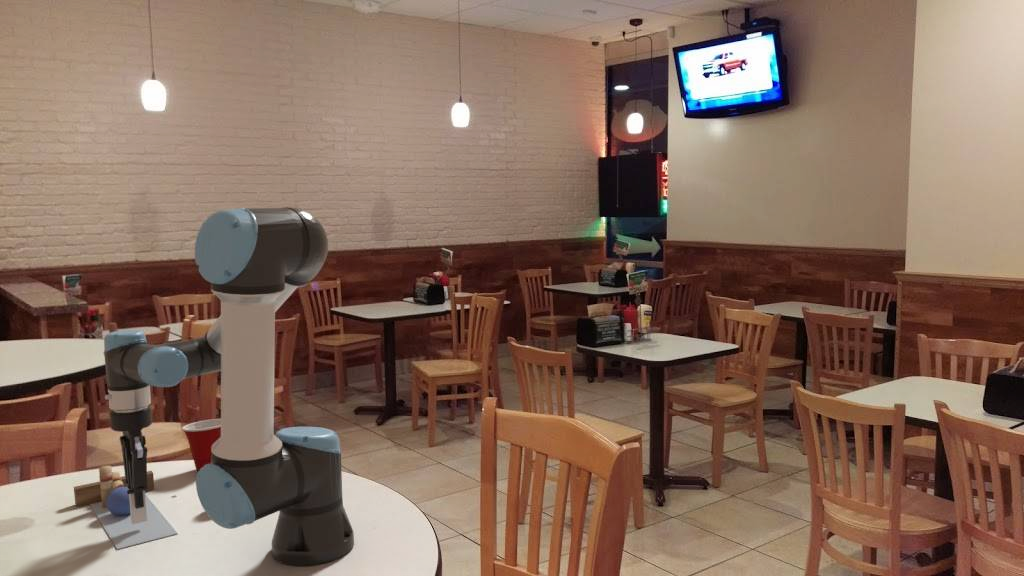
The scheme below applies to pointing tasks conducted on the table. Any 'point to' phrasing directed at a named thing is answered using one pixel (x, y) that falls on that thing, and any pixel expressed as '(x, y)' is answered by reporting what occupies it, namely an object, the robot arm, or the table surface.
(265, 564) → the table surface
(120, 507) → the ball
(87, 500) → the backstop
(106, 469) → the pin left
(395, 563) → the table surface
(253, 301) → the robot arm
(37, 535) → the table surface
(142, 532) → the plate
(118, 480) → the pin front
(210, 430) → the plastic cup
